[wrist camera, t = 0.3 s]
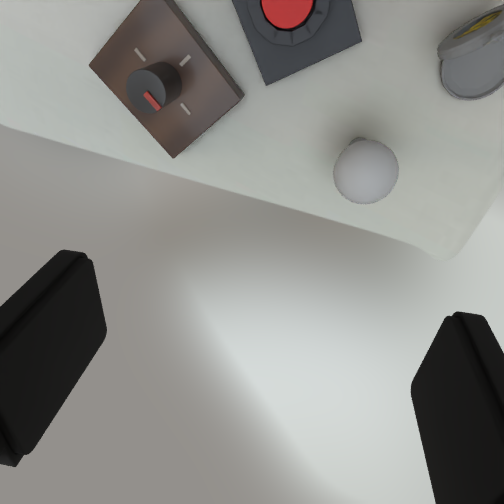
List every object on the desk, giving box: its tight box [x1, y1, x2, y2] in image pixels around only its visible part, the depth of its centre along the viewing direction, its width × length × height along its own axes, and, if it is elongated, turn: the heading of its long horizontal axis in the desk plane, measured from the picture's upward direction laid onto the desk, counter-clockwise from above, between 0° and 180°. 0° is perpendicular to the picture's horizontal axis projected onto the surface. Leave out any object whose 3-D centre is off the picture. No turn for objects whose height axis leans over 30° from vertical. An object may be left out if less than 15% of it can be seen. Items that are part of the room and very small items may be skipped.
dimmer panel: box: [89, 0, 244, 158], centre depth 41 cm, size 13×11×3 cm
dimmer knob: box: [126, 62, 182, 114], centre depth 37 cm, size 4×4×5 cm
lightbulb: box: [333, 138, 399, 204], centre depth 38 cm, size 6×6×11 cm
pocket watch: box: [437, 4, 504, 100], centre depth 32 cm, size 8×8×10 cm
